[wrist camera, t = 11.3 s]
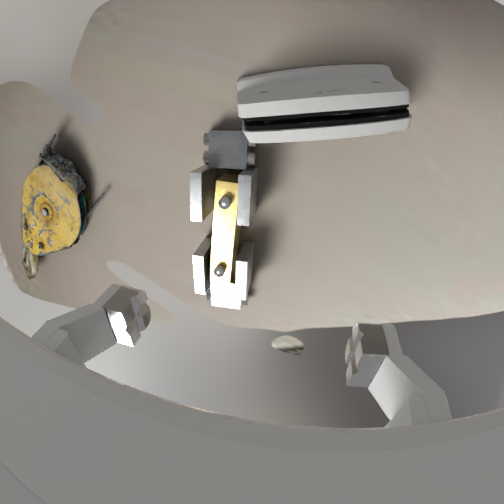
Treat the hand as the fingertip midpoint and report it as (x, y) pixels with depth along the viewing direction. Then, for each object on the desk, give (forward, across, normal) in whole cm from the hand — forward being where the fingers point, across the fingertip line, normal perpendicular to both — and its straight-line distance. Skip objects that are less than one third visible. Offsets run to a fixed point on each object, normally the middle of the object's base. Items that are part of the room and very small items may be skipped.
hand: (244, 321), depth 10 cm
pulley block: (+21, +38, +7) cm, 44 cm away
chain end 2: (+22, +6, +12) cm, 26 cm away
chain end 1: (+22, +6, -2) cm, 23 cm away
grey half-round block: (+23, -3, -10) cm, 25 cm away
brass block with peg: (+22, +6, +5) cm, 23 cm away
